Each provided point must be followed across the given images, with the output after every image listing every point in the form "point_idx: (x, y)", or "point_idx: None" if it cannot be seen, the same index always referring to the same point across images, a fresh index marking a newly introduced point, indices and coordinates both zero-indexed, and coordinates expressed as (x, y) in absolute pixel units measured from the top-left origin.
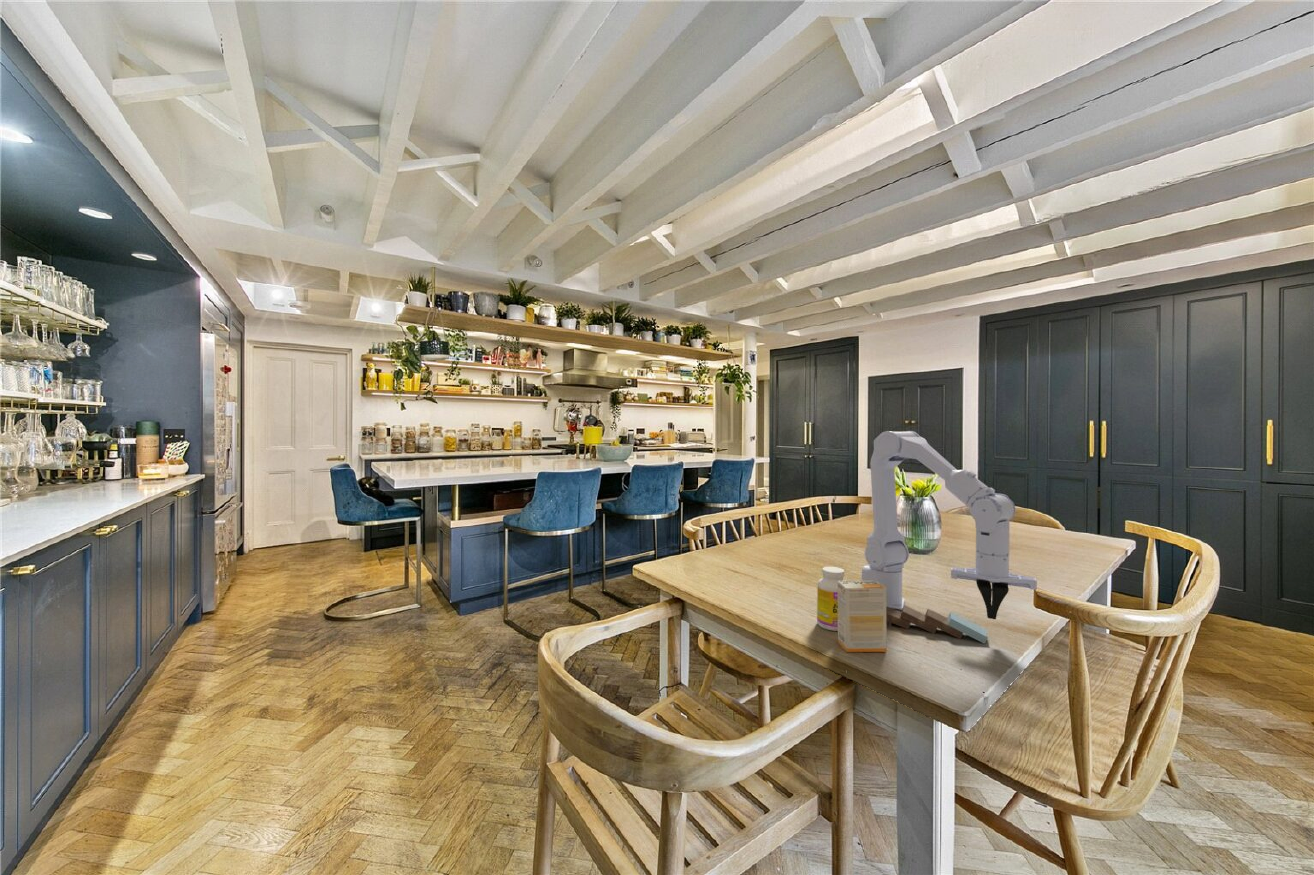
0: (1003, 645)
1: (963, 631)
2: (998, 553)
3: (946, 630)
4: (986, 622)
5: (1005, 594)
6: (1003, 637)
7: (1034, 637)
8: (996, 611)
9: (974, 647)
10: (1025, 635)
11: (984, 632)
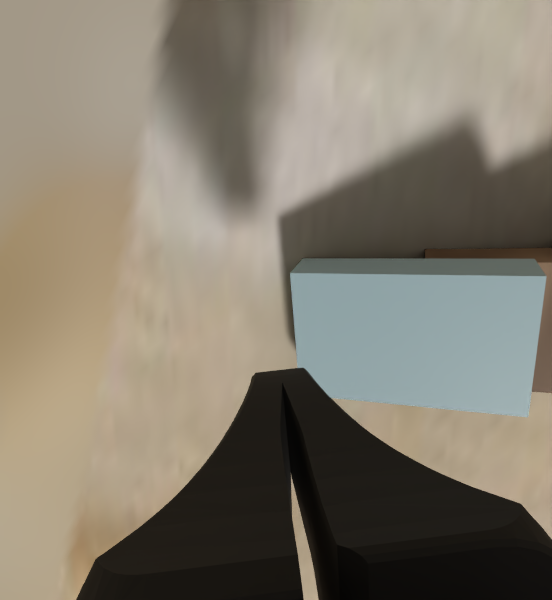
0: (211, 301)
1: (428, 261)
2: None
3: (515, 251)
4: None
5: (129, 540)
6: (216, 413)
7: (88, 500)
8: (250, 401)
9: (354, 164)
10: (126, 500)
11: (310, 330)
